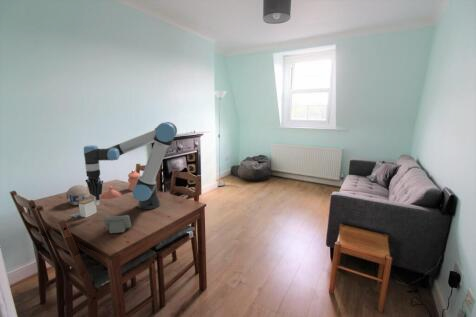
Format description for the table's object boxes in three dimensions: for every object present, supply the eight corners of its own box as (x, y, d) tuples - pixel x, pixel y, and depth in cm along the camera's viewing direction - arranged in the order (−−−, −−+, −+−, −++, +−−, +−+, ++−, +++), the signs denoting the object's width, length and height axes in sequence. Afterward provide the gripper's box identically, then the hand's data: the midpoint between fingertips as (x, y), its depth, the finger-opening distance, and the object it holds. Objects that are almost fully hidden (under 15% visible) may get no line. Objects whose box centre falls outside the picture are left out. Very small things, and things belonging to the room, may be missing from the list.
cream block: (96, 213, 161) (95, 199, 159) (86, 217, 153) (84, 203, 151) (91, 212, 162) (89, 198, 160) (80, 216, 155) (78, 202, 153)
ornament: (71, 202, 180) (69, 183, 177) (93, 199, 185) (91, 181, 182) (64, 209, 166) (61, 189, 163) (88, 207, 171) (85, 187, 168)
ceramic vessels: (102, 204, 177) (99, 180, 173) (93, 197, 190) (90, 175, 187) (146, 192, 202) (144, 171, 198) (135, 187, 216) (133, 167, 212)
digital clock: (132, 227, 141) (131, 212, 139) (127, 233, 133) (125, 218, 132) (109, 227, 141) (108, 213, 139) (102, 233, 133) (100, 218, 131)
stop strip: (93, 210, 165) (93, 208, 165) (75, 217, 153) (75, 215, 153) (91, 209, 165) (91, 208, 165) (73, 217, 153) (73, 215, 153)
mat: (91, 210, 165) (90, 209, 165) (74, 217, 154) (74, 216, 154) (80, 208, 168) (80, 207, 168) (63, 214, 157) (63, 214, 157)
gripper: (105, 169, 150) (109, 203, 154) (90, 167, 154) (94, 201, 159) (95, 172, 143) (99, 208, 147) (80, 170, 147) (84, 205, 152)
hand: (97, 204), depth 153 cm, fingers closed
